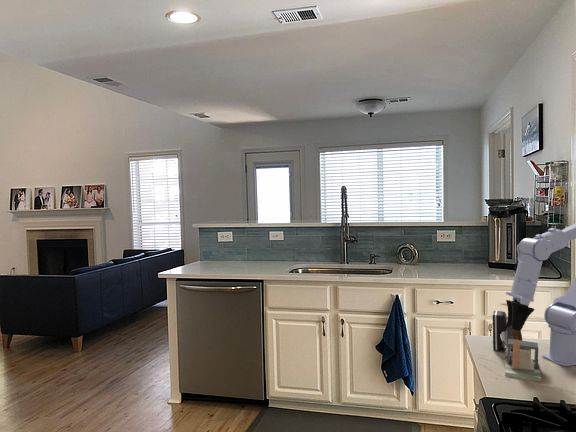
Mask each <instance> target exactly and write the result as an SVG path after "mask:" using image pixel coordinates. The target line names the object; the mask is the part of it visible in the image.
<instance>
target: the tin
mask: <svg viewBox="0 0 576 432" xmlns="http://www.w3.org/2000/svg"><path fill="white" fill-rule="evenodd" d="M500 336H501V339H502V341H503V343H504V344H505V346H507V347H508V339H515V340H521V341H523V334H522V330H521V331H517V330H514V329H512V326H509V325H508V316H507V330H506V332H502V334H500ZM510 351H512V352H513V346H510Z"/></svg>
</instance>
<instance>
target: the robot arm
mask: <svg viewBox="0 0 576 432" xmlns="http://www.w3.org/2000/svg"><path fill="white" fill-rule="evenodd" d="M575 239H576V222H575V223H573V224H571V225H569V226H567V227H564V228H562V229H558V228H553V227H551V228H548V229H547V231H545V232H544V233H542V234H539V233H538V234H535V236H534V237H532V238H531V237H526V238H523V239H521V241H520V242H519V243H518V244H517V245H516V252H517V259H516V260H517V262H518V263H517V267H516V270H515V275H514V278H513V282H512V287H511V291H510V292H509V291H506V292H505V295H508V296H510V297H512V298H511V299H512V300H510V299H506V300H505V301H506V306H507V307H506V308H507V317H508V325H509V326H512V329H514V330H517V331H521V332H522V329H523V327H524V326H525V323H526V321H527V320H528V318H529V316H530V315H531V314H532V313H533V312H534V311H535V308H532V307H531V306H530V304H531V303H534V301H535V294H536V289H537V286H538V285H537V284H538V281H539V277H540V273H541V269H542V265H543V261H546V260H548V259H549V257H550V255H551V254H552V253H555V252H556V251H560V250H561V249H564V248H565V247H566V246H567V245H568V242H570V241H573V240H575ZM543 316H544V321H545V322H546V323H547V324H548V325H547V326H548V328H550V331H549V333H550V334H549V353H545V354H542V355H541V356H542V357H543V358H544V359H547V360H549V361H552V362H554V363H556V364H559V365H561V366H563V367H570V366H576V276H575V277H574V279H573V280H572V282H571V284H570V286H569V287H568V289H567V291H566V292H565V294H564V295H561V296H558V297H556V298H554V299H553V301H552V303H551V304H549V305H548V306H547V307H546V308H545V311H544V315H543Z"/></svg>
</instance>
